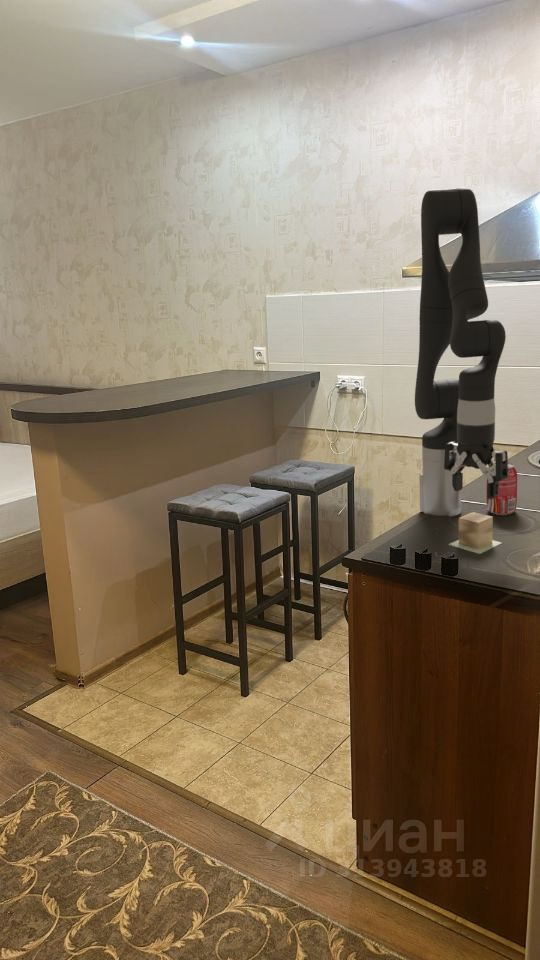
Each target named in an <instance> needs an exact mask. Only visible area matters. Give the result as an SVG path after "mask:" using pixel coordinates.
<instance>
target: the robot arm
mask: <svg viewBox="0 0 540 960" xmlns="http://www.w3.org/2000/svg"><path fill="white" fill-rule="evenodd" d="M476 199H477V198H476V195H475V193H474V191H473V190H472V189H471V188H468V187H452V188H451V187H450V188H436V189H428V190H427V191H426V192H425V193H424V194H423V197H422V202H421V209H420V226H421V227H420V228H421V230H420V232H421V234H420V235H421V236H420V237H421V281H420V283H421V284H420V296H419V318H418V319H419V342H418V343H419V344H418V361H417V372H416V380H415V388H414V390H415V391H414V407H415V414H416V415H417V417H418V418H419V419H420V420H435V419H442V421H441V422H440V423H439V424H438V425H437V426H436V427H434V428H432V429H430V430H428V431H426V432H424V433H423V434H422V438H421V448H422V449H421V454H422V457H421V459H422V461H421V462H422V473H421V474H419V478H418V479H419V512H422V513H423V514H424V515H426V514H428V515H431V516H446V517H450V518H452V517H456V516H459V515H460V514H461V513H462V490H463V486H464V484H463V483H464V481H463V478H464V475H463V472H462V471H463V470H464V469H465V467H466V468H474V469H477V470H480V472H481V473H482V474H483V475H485V477H486V480H487V479H488V481H489V482H488V492H487V491H486V499H487V498H488V499H494V498H496V496H498V490H499V481H502V480H504V479H507V478H508V463H509V462H508V461H509V460H508V459H509V458H508V451H507V450H506V449H504V450H501V451H497V450H495V449H494V443H495V438H496V437H495V436H496V435H495V434H496V403H495V384H496V383H495V382H496V375H497V370H498V366H499V362H500V360H501V357H502V354H503V350H504V348H505V343H506V340H507V339H506V337H507V336H506V330H505V327H504V325H503V324H502V322H500V321H499V320H497V319H483V320H473V319H475V318H478V317H480V316H482V315H484V313H486V311H487V310H488V307H489V299H488V295H487V294H488V293H487V288H486V285H485V280H484V276H483V270H482V264H481V262H482V261H481V244H480V242H481V241H480V227H479V225H480V224H479V213H478V212H479V211H478V204H477V200H476ZM457 234H461V239H462V243H461V247H460V249H459V252H458V254H457V256H456V258H455V260H454V261H453V263H452V264H451V267H450V269H449V268H448V267H447V266H446V263H445V260H444V258H443V256H442V253H441V248H440V240H439V239H440V236H442V235H457ZM469 320H470V321H469ZM471 320H472V321H471ZM449 346H450V349H451V352H452V353H453V355H455V357H458V358H463V359H464V358H477V357H479V358H480V357H482V358H481V360H480V361H479V363H478V364H476V365H475V366H473V367H469V368H466V369H463V370H461V372H459V375H458V379H456V378H445V379H435V375H436V370H437V367H438V365H439V362H440V360H441V358H442V356H443V355H444V354H445V351H446V350H447V349H448V347H449ZM494 463H495V464H496V465H495V464H494ZM487 466H488V467H487Z"/></svg>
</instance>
